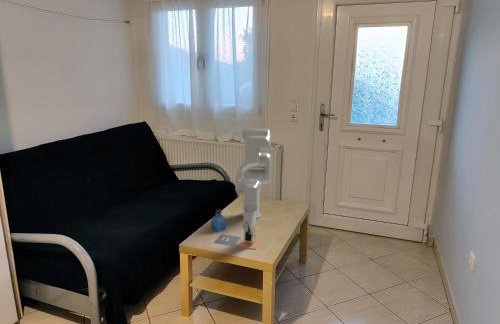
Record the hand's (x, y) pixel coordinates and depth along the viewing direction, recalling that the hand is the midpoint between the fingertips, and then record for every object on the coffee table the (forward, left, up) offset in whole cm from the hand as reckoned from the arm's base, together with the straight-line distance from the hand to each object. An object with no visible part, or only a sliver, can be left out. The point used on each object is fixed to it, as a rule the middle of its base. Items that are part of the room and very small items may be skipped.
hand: (249, 238), depth 195 cm
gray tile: (0, -13, -3) cm, 13 cm away
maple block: (0, 0, -1) cm, 1 cm away
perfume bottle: (-12, -23, -4) cm, 26 cm away
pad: (0, 0, -3) cm, 3 cm away
